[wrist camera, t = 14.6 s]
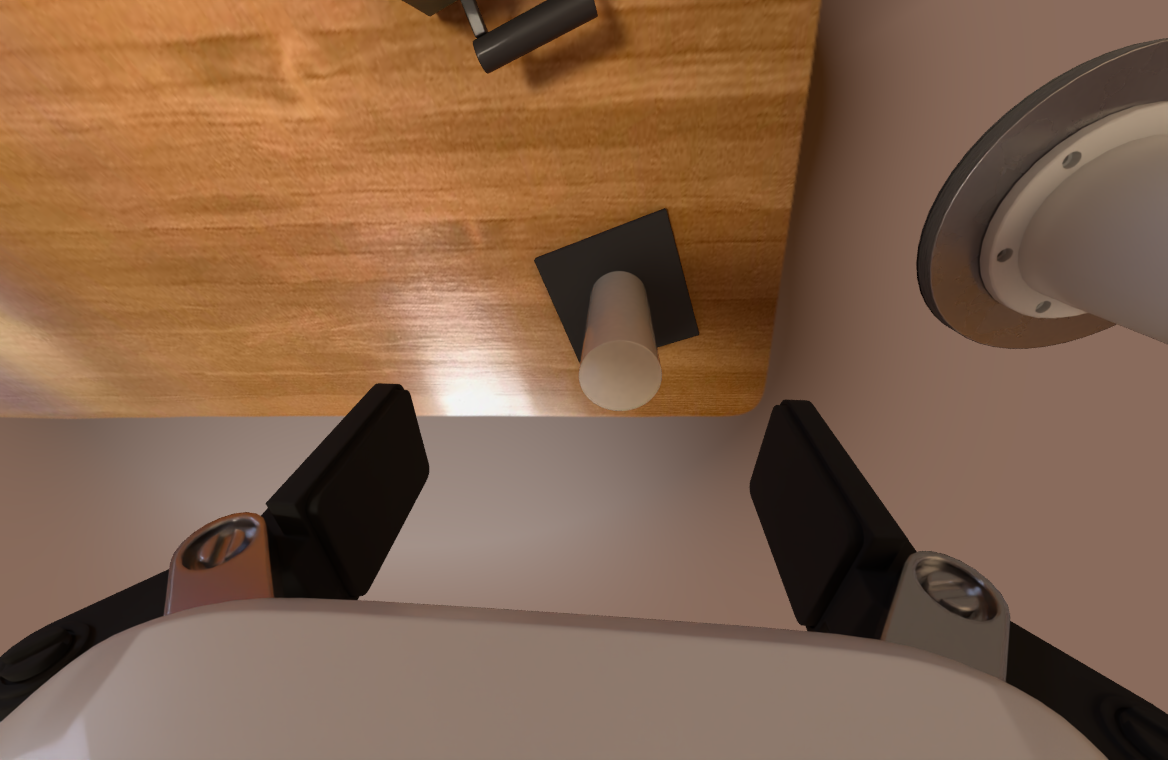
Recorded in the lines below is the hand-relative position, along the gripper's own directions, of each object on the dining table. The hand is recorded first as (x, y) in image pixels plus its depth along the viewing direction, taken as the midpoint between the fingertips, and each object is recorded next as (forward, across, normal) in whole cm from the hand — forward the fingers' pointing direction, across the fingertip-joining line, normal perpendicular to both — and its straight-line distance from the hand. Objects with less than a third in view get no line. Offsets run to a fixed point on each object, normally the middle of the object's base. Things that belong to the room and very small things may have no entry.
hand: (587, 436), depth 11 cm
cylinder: (+22, -1, +4) cm, 22 cm away
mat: (+22, -1, +4) cm, 23 cm away
